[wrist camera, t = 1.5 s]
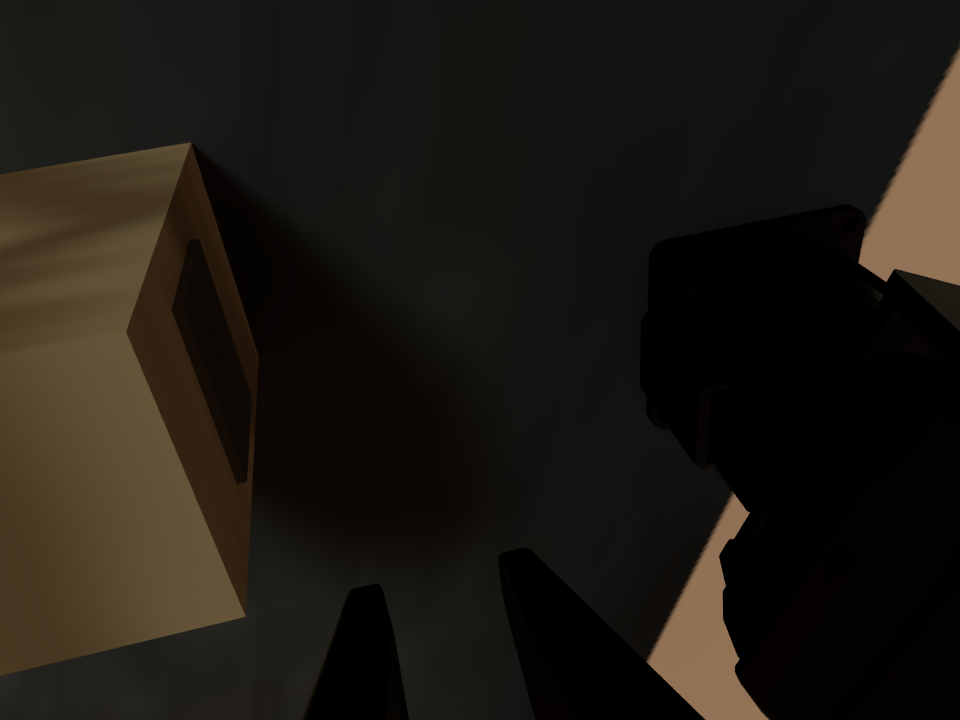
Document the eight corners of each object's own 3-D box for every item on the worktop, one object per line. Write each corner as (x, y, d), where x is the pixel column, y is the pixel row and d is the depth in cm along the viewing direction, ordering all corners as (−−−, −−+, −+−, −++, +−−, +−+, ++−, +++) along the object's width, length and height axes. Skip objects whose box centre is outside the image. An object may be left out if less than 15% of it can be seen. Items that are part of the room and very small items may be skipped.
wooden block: (199, 141, 18) (141, 329, 11) (266, 355, 21) (257, 613, 14) (-35, 180, 17) (-272, 409, 10) (70, 394, 21) (-49, 687, 13)
